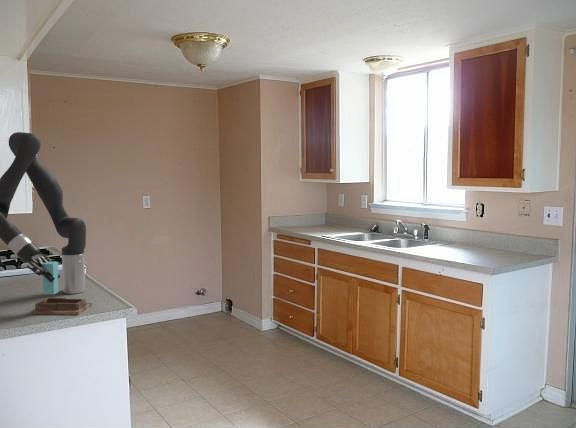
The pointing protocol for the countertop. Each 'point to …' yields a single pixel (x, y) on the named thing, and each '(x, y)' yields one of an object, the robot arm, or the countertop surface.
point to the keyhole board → (61, 306)
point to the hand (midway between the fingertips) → (55, 279)
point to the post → (53, 286)
